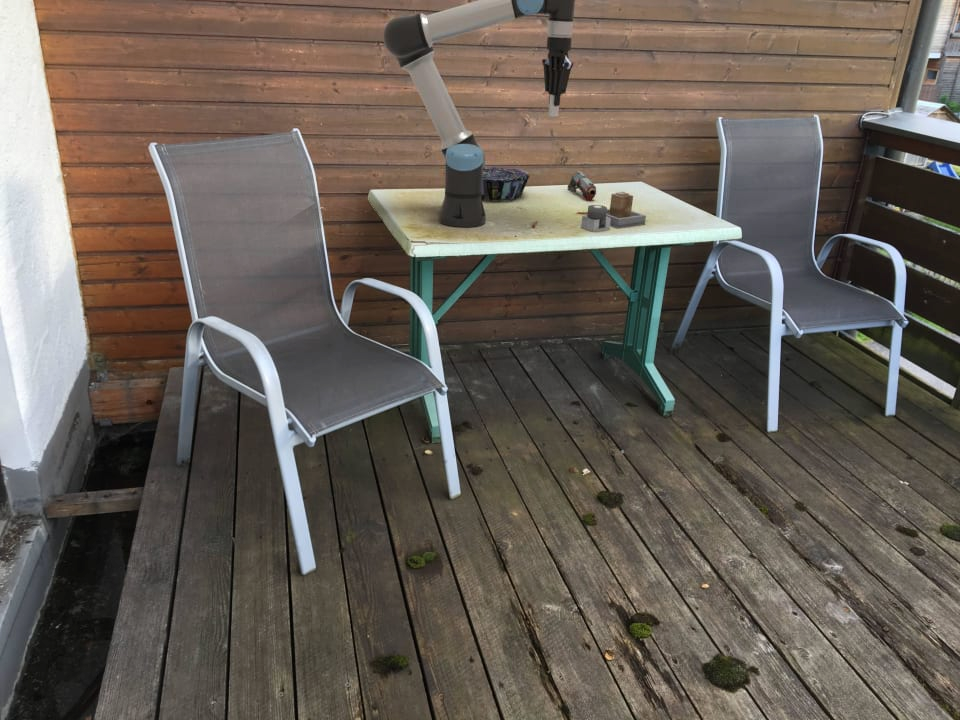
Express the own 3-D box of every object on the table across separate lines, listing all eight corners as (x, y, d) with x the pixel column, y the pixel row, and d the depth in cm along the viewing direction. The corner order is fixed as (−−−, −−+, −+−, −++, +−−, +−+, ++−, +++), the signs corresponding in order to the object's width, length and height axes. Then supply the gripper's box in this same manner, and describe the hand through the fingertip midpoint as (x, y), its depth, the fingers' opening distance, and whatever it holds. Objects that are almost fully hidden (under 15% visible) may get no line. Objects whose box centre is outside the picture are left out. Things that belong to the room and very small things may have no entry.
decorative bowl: (520, 211, 272) (525, 183, 268) (445, 198, 276) (448, 171, 272) (530, 196, 295) (534, 170, 291) (461, 184, 299) (463, 158, 294)
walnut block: (618, 221, 254) (622, 195, 250) (608, 217, 257) (611, 192, 254) (630, 219, 256) (633, 194, 252) (620, 216, 260) (623, 190, 256)
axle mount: (593, 232, 244) (594, 220, 243) (580, 227, 249) (582, 215, 247) (609, 229, 248) (611, 218, 246) (597, 225, 252) (598, 213, 251)
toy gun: (583, 210, 284) (588, 185, 279) (564, 189, 300) (568, 164, 294) (594, 210, 286) (599, 184, 280) (575, 188, 301) (579, 164, 295)
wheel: (594, 229, 244) (596, 209, 241) (582, 224, 249) (584, 205, 246) (608, 227, 247) (611, 207, 245) (596, 222, 252) (598, 203, 249)
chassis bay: (617, 228, 250) (618, 219, 248) (593, 219, 259) (594, 210, 257) (644, 224, 256) (646, 215, 254) (620, 216, 265) (621, 207, 263)
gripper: (582, 37, 234) (575, 118, 244) (556, 35, 244) (550, 113, 254) (563, 37, 230) (556, 119, 240) (537, 35, 240) (531, 113, 250)
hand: (553, 116), depth 247 cm, fingers closed
